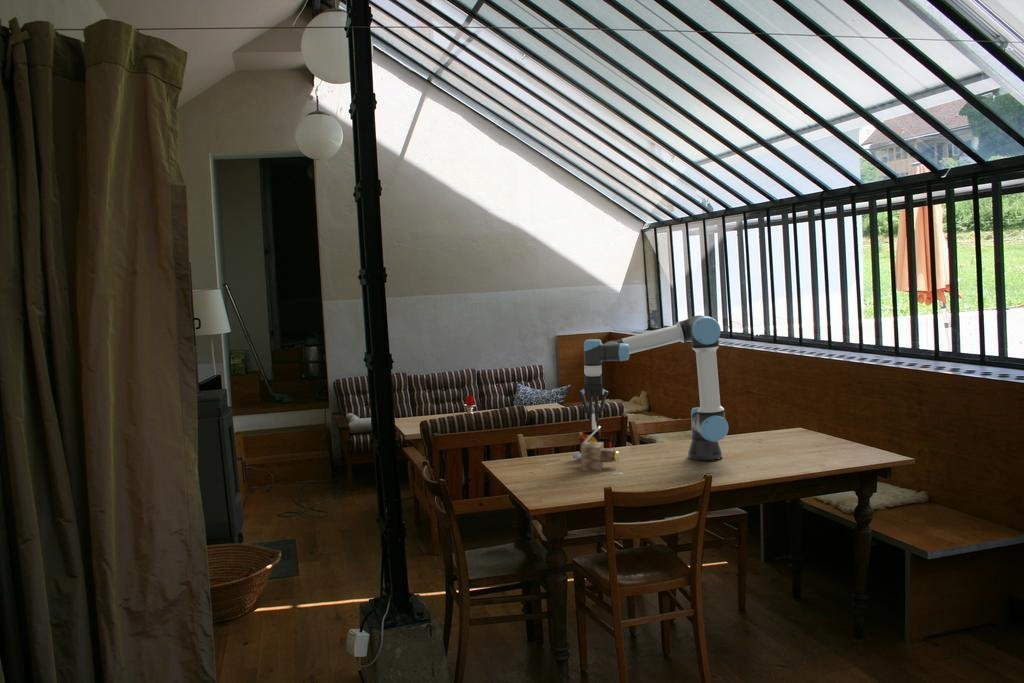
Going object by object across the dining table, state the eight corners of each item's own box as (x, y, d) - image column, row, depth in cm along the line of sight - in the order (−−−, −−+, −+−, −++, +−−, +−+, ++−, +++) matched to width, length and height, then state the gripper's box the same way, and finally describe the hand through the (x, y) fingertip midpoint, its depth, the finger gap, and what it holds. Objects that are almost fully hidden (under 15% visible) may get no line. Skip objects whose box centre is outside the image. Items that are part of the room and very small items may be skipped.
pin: (619, 460, 366) (619, 450, 365) (618, 463, 361) (617, 452, 361) (574, 459, 371) (573, 449, 370) (572, 461, 366) (571, 451, 366)
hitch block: (615, 464, 370) (614, 440, 369) (611, 470, 358) (611, 445, 358) (585, 464, 373) (584, 439, 372) (580, 470, 362) (579, 444, 361)
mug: (612, 460, 381) (611, 433, 380) (582, 461, 378) (582, 435, 377) (606, 455, 390) (605, 430, 389) (577, 457, 388) (576, 432, 387)
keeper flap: (600, 427, 366) (599, 425, 366) (599, 428, 362) (597, 427, 362) (585, 442, 369) (583, 441, 369) (583, 444, 364) (582, 443, 364)
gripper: (609, 374, 365) (610, 427, 367) (579, 374, 369) (580, 427, 370) (606, 376, 358) (607, 430, 360) (576, 376, 361) (577, 430, 363)
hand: (594, 429), depth 365 cm, fingers closed
